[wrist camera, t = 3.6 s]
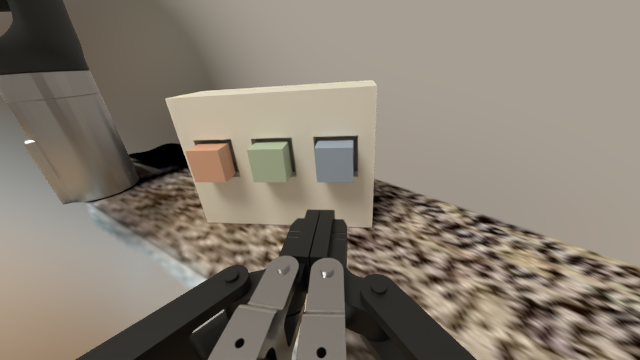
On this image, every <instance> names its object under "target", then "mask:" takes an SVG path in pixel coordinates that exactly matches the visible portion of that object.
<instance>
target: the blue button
mask: <svg viewBox="0 0 640 360" xmlns="http://www.w3.org/2000/svg"><path fill="white" fill-rule="evenodd" d="M314 151H315V163H316V174H317V182H353V175H354V162H353V140H340V141H318V142H317V144H316V146H315V148H314Z"/></svg>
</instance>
